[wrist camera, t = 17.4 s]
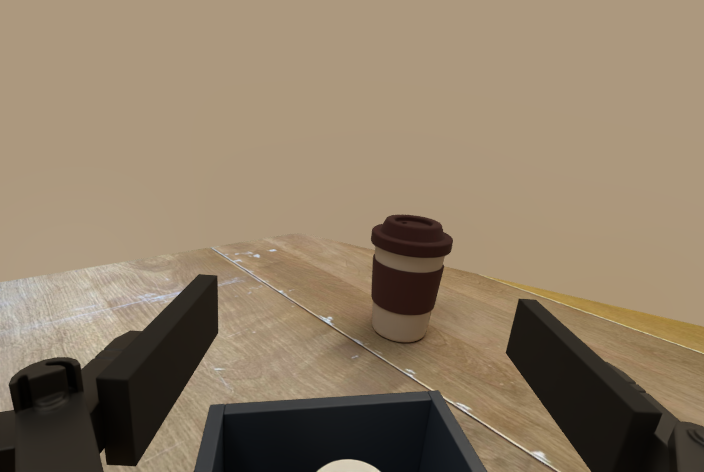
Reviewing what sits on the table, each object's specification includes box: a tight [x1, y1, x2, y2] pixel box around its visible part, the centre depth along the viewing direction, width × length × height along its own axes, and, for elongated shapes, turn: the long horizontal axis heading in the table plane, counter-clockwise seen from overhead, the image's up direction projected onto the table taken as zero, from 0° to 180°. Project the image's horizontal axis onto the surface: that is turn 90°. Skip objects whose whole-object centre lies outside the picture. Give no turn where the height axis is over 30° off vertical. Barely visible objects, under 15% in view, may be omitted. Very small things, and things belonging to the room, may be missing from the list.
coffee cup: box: [371, 215, 453, 342], centre depth 46 cm, size 10×10×15 cm
